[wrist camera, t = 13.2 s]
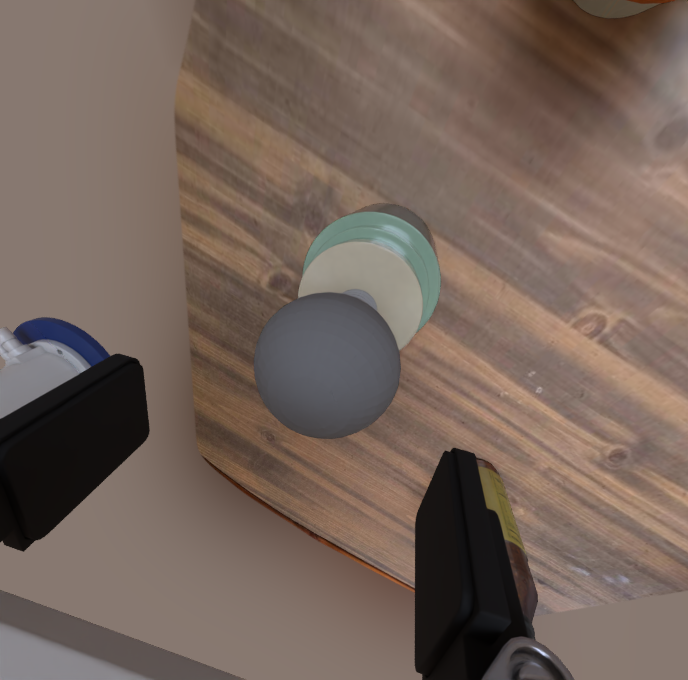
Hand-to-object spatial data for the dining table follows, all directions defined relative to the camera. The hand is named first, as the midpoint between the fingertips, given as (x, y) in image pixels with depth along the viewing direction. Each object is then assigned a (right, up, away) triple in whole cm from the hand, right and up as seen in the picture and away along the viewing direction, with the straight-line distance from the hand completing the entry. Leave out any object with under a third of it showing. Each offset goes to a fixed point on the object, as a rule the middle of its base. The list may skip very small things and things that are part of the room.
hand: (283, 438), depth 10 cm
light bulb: (+3, +5, +10) cm, 12 cm away
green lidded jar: (+5, +11, +22) cm, 25 cm away
